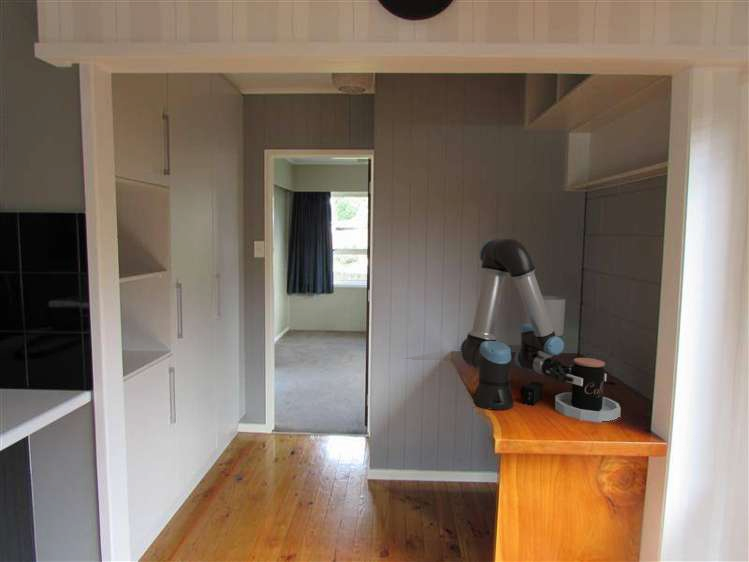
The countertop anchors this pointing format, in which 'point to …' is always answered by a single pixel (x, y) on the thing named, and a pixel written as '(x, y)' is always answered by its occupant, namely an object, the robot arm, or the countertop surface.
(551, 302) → the lamp
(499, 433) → the countertop surface
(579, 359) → the coffee jar
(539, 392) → the digital camera
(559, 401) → the bowl
